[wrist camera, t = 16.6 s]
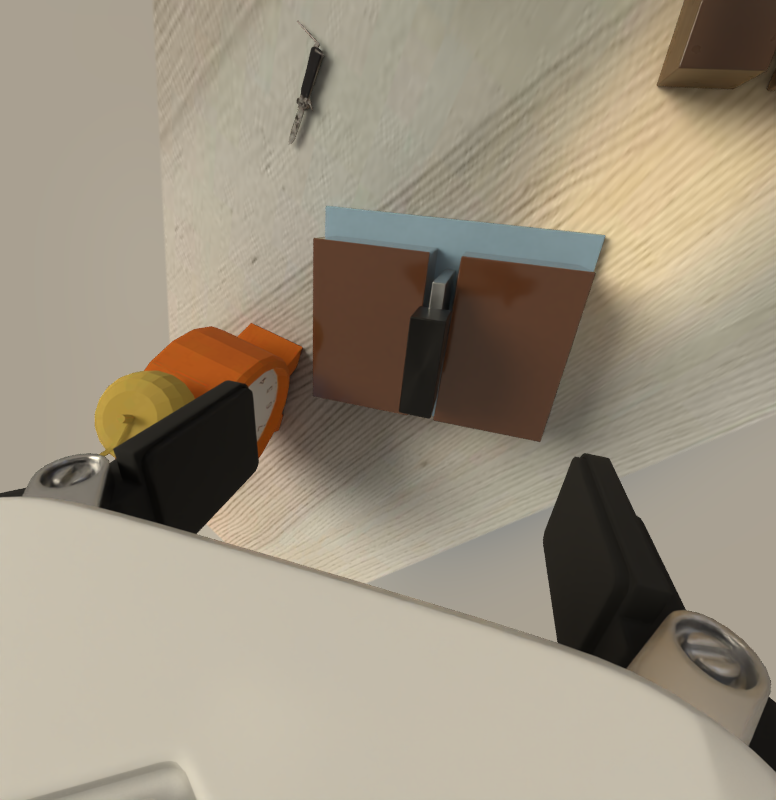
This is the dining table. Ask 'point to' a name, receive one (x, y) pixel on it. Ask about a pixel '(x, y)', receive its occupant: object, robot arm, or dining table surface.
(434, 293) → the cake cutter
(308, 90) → the knife
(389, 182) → the dining table surface
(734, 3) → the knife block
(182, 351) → the alarm clock
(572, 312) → the cake
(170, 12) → the dining table surface
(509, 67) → the dining table surface
